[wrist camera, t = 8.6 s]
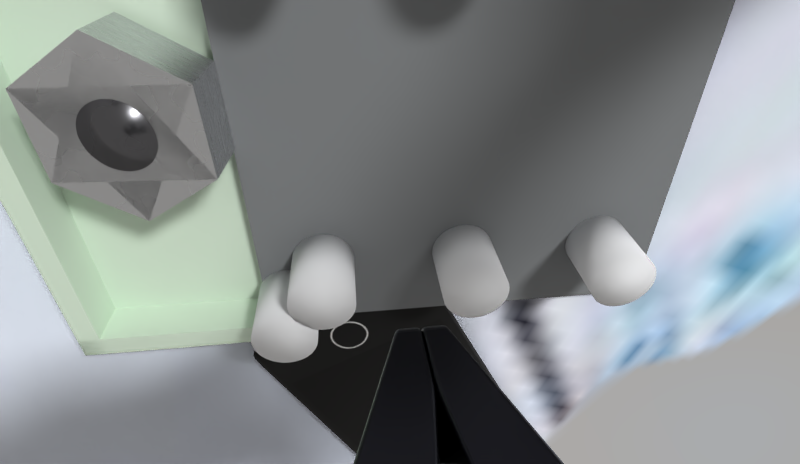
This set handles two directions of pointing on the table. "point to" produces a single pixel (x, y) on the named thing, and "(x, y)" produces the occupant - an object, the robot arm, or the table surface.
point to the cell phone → (355, 365)
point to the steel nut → (126, 116)
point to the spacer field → (375, 164)
